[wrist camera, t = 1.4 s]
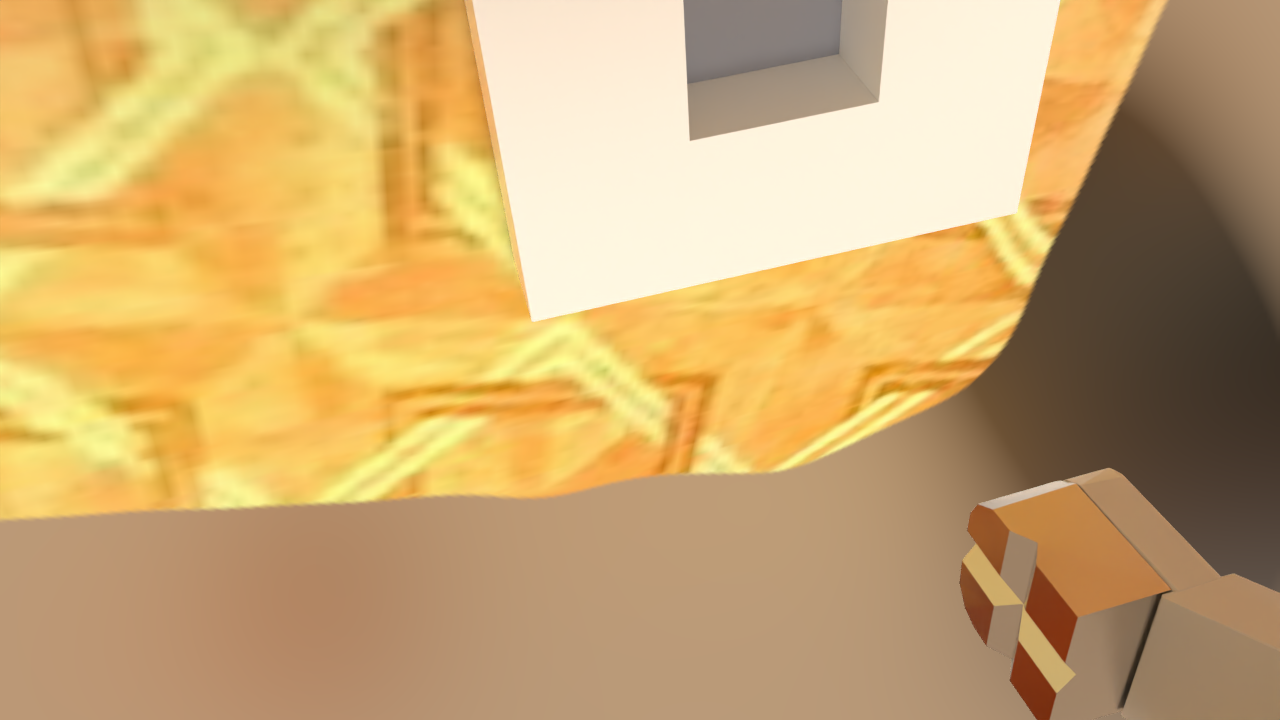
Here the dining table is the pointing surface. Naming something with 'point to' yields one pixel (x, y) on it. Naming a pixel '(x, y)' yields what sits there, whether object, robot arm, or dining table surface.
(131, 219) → the dining table surface
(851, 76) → the housing
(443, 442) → the dining table surface
